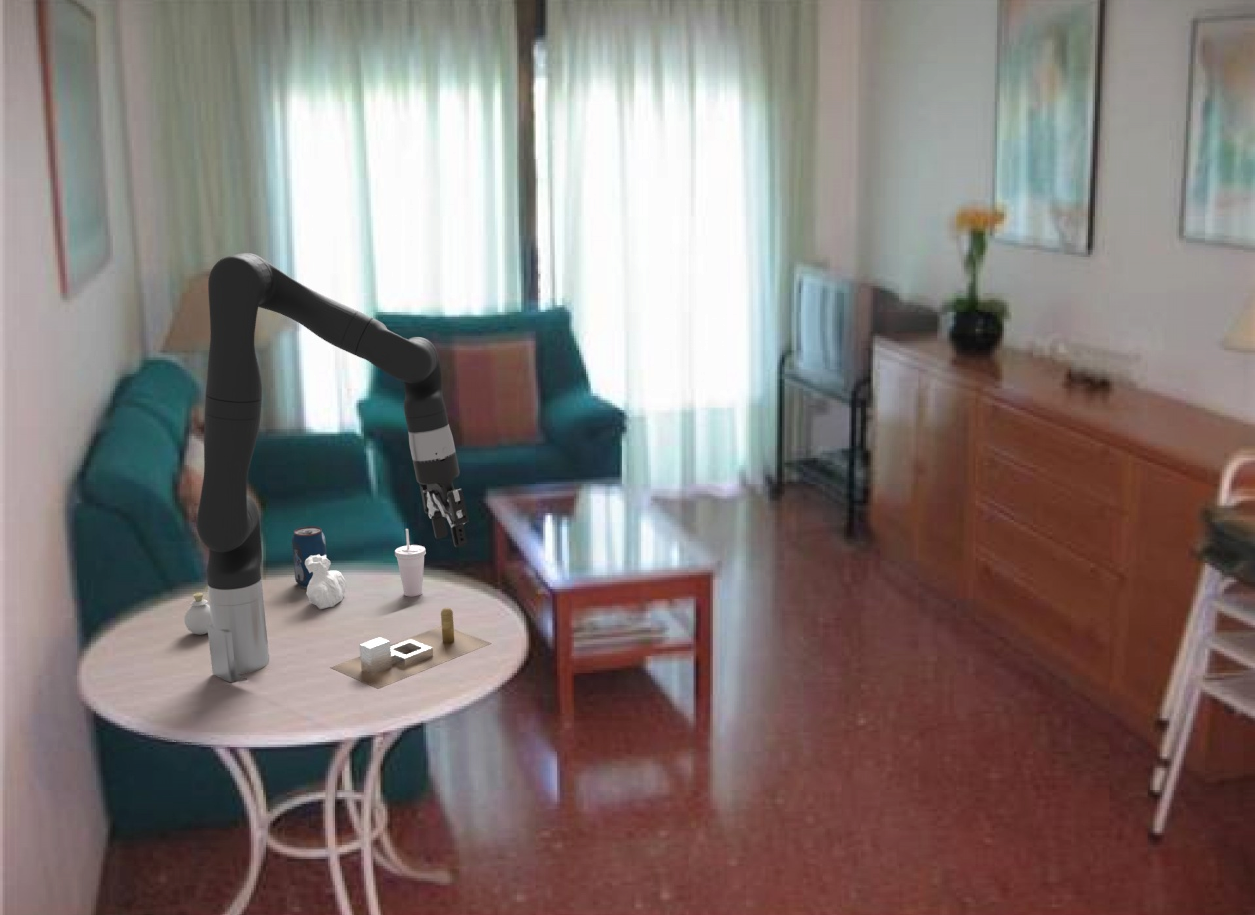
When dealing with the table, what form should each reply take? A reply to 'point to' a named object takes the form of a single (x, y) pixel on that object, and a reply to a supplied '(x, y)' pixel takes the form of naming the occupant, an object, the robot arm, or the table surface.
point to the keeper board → (444, 649)
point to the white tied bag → (324, 582)
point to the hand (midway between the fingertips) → (451, 541)
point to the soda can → (306, 551)
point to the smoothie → (411, 567)
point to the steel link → (391, 654)
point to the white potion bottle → (198, 615)
